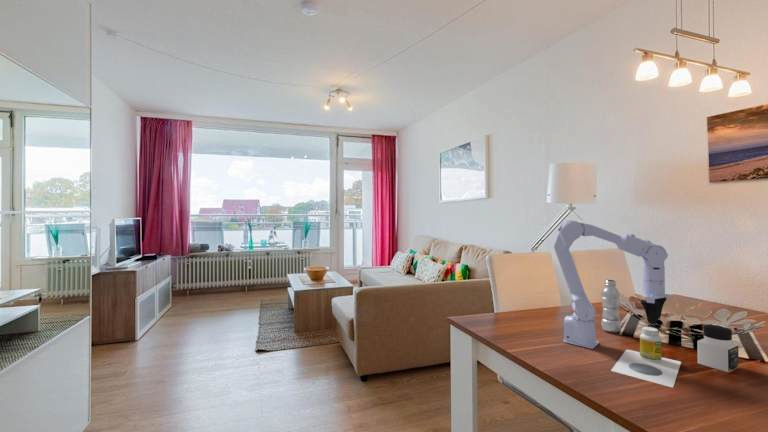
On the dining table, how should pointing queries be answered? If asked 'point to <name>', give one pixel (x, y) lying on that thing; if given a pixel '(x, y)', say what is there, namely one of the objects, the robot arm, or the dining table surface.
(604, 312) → the plastic bottle
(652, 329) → the supplement bottle
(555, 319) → the dining table surface
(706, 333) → the medicine bottle
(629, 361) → the card
